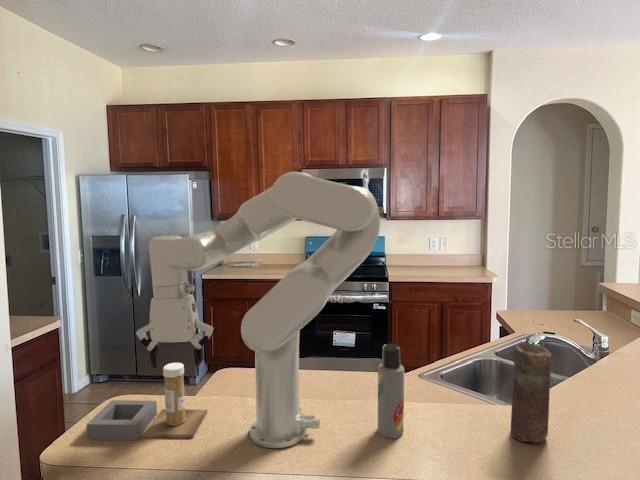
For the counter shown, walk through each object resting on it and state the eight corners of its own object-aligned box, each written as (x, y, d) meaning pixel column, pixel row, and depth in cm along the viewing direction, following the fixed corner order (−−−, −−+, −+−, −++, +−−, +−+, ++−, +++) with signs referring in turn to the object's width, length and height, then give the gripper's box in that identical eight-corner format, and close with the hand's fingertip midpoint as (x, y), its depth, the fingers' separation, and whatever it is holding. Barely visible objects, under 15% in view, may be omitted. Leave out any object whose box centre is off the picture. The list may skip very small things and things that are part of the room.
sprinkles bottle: (188, 422, 103) (186, 366, 102) (168, 428, 101) (165, 371, 99) (183, 414, 107) (180, 360, 105) (163, 420, 104) (160, 364, 103)
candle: (518, 423, 103) (522, 339, 101) (552, 435, 98) (557, 347, 96) (504, 436, 98) (508, 348, 96) (539, 450, 93) (544, 357, 90)
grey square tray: (157, 414, 109) (156, 400, 108) (137, 440, 98) (136, 424, 97) (112, 413, 109) (111, 400, 109) (87, 439, 98) (86, 424, 98)
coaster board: (207, 412, 109) (207, 409, 109) (193, 438, 98) (192, 434, 98) (162, 412, 110) (162, 409, 109) (143, 437, 99) (143, 434, 99)
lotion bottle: (408, 431, 100) (409, 345, 98) (394, 442, 96) (395, 352, 94) (387, 422, 104) (388, 339, 102) (372, 432, 100) (373, 345, 98)
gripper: (214, 285, 103) (219, 357, 105) (140, 289, 104) (147, 359, 106) (204, 293, 96) (210, 370, 98) (125, 296, 97) (133, 372, 99)
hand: (177, 364), depth 102 cm, fingers open, 9 cm apart
